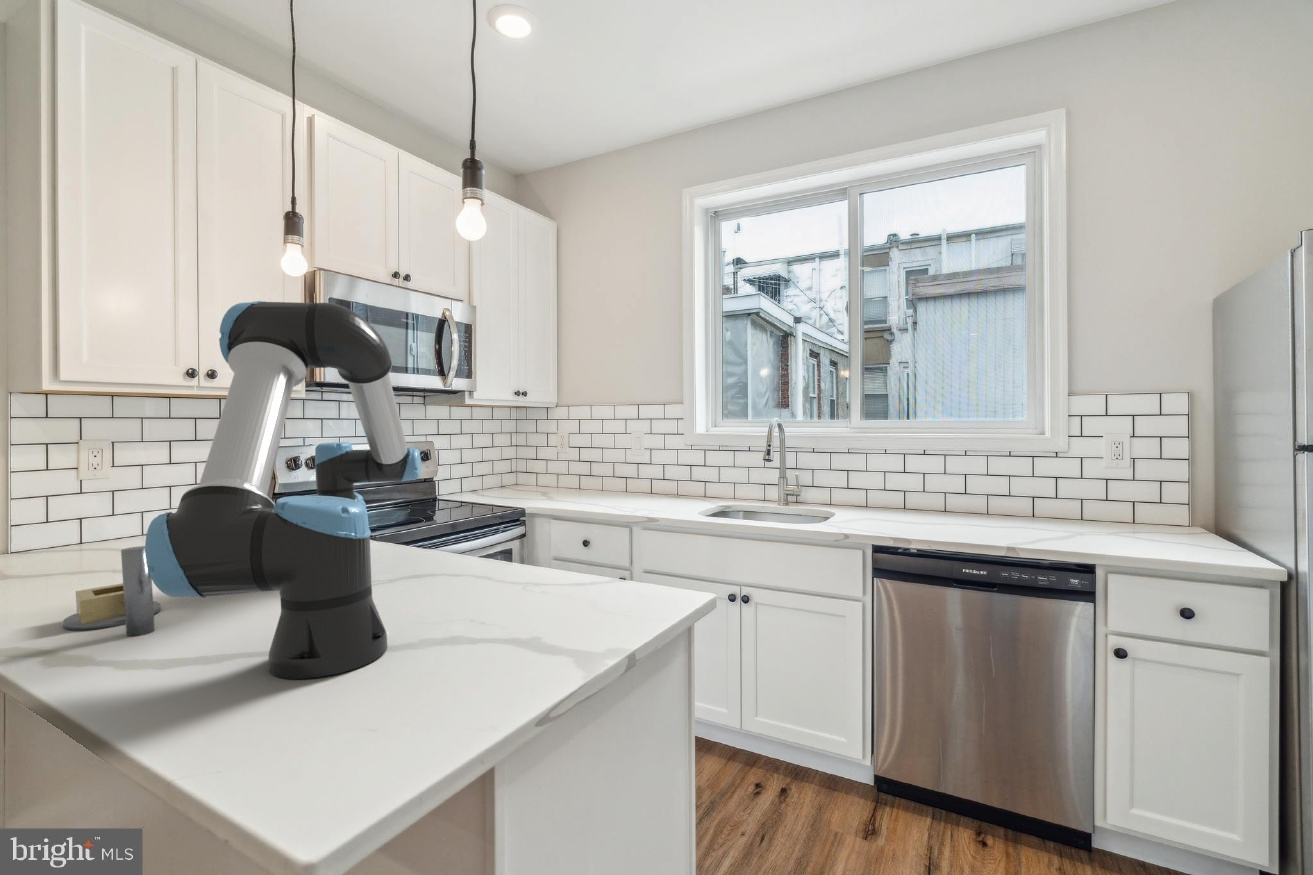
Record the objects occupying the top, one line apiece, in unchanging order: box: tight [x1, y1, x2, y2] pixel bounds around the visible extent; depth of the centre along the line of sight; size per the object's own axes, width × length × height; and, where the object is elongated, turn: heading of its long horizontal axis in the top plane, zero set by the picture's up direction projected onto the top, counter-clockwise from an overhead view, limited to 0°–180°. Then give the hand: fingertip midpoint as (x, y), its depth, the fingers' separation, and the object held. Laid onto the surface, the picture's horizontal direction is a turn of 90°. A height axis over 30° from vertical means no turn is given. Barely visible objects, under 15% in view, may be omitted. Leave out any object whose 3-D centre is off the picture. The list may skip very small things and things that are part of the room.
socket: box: [62, 582, 162, 632], centre depth 109 cm, size 13×13×5 cm
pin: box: [120, 545, 156, 637], centre depth 101 cm, size 4×4×14 cm
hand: (197, 541), depth 110 cm, fingers open, 13 cm apart
